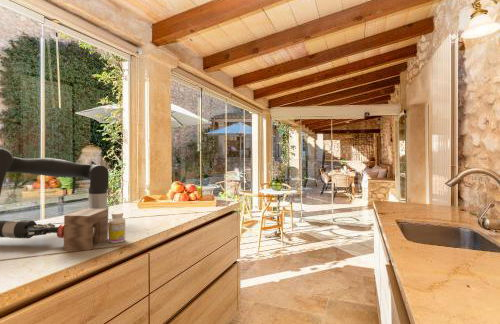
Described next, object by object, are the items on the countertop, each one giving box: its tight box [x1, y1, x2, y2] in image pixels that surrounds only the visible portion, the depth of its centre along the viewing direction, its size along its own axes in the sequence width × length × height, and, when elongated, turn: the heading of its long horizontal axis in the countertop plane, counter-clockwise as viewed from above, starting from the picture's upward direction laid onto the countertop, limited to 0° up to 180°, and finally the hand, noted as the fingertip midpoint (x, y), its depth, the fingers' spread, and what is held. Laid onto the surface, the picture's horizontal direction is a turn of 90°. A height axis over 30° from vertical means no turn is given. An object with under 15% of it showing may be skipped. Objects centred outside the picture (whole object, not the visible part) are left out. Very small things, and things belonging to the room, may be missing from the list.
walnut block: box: [63, 207, 109, 251], centre depth 122 cm, size 12×16×14 cm
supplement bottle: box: [108, 211, 126, 244], centre depth 127 cm, size 7×7×13 cm
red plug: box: [56, 223, 97, 239], centre depth 120 cm, size 14×6×6 cm, turn 92°
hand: (61, 229), depth 120 cm, fingers closed
